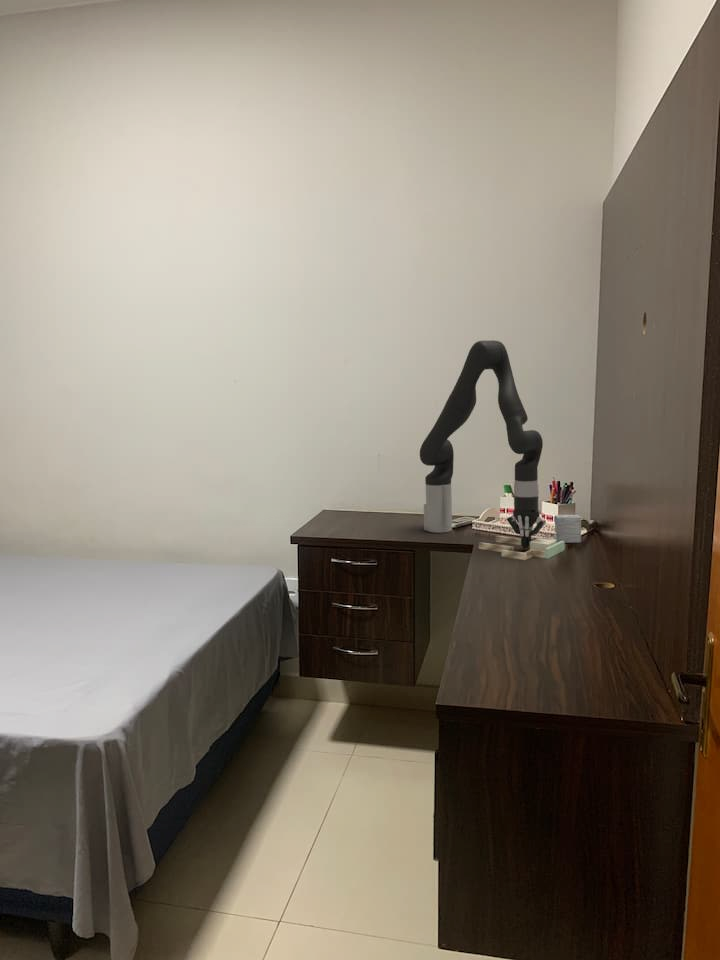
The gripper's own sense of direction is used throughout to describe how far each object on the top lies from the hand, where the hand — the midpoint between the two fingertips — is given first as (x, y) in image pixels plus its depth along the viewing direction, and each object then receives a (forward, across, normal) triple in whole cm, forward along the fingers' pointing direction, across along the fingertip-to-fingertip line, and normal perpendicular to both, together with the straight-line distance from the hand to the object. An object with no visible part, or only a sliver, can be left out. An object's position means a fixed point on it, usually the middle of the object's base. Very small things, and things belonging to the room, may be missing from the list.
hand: (526, 547), depth 235 cm
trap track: (+1, -1, 0) cm, 1 cm away
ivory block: (+1, +6, 0) cm, 6 cm away
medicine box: (+1, +6, +17) cm, 19 cm away
